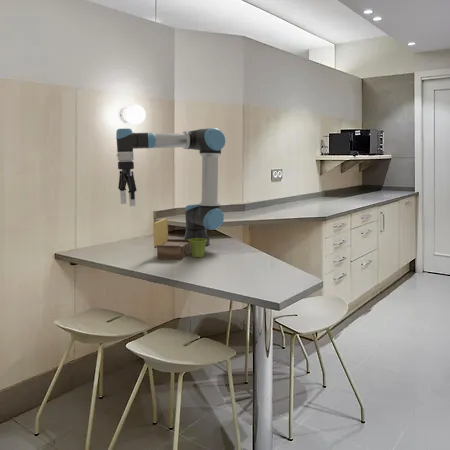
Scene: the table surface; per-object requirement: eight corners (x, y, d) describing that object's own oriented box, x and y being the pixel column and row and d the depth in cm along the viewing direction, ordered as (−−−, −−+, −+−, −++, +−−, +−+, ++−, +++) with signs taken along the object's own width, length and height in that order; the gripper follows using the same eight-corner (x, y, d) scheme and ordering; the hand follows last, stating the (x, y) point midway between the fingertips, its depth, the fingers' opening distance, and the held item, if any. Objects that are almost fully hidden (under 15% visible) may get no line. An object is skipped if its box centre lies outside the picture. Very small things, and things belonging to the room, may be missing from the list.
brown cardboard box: (180, 259, 245) (180, 245, 244) (157, 259, 248) (156, 245, 246) (190, 252, 262) (190, 239, 261) (168, 251, 265) (168, 238, 264)
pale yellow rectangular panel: (156, 248, 246) (155, 223, 245) (154, 248, 247) (153, 223, 245) (168, 241, 264) (167, 218, 263) (166, 241, 265) (165, 218, 263)
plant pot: (197, 253, 259) (197, 237, 258) (211, 256, 253) (211, 239, 252) (185, 257, 252) (184, 240, 251) (198, 259, 246) (198, 242, 245)
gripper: (110, 161, 249) (112, 203, 253) (126, 161, 228) (128, 207, 231) (125, 160, 253) (127, 202, 256) (141, 161, 231) (144, 206, 235)
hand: (127, 205), depth 244 cm, fingers open, 13 cm apart
